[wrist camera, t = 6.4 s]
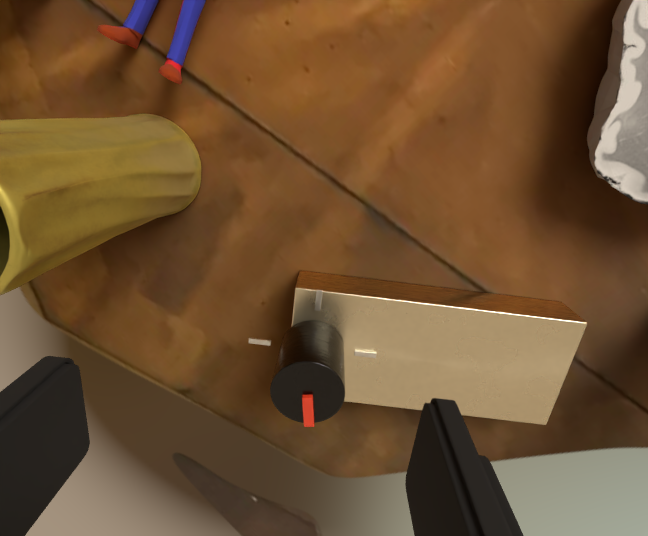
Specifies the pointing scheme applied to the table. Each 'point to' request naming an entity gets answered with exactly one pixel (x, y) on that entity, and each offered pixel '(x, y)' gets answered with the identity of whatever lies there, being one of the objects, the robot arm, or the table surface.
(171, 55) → the character figure
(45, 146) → the vase
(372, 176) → the table surface
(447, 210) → the table surface
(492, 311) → the panel
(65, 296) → the table surface
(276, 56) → the table surface
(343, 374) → the knob
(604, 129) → the brain slice
